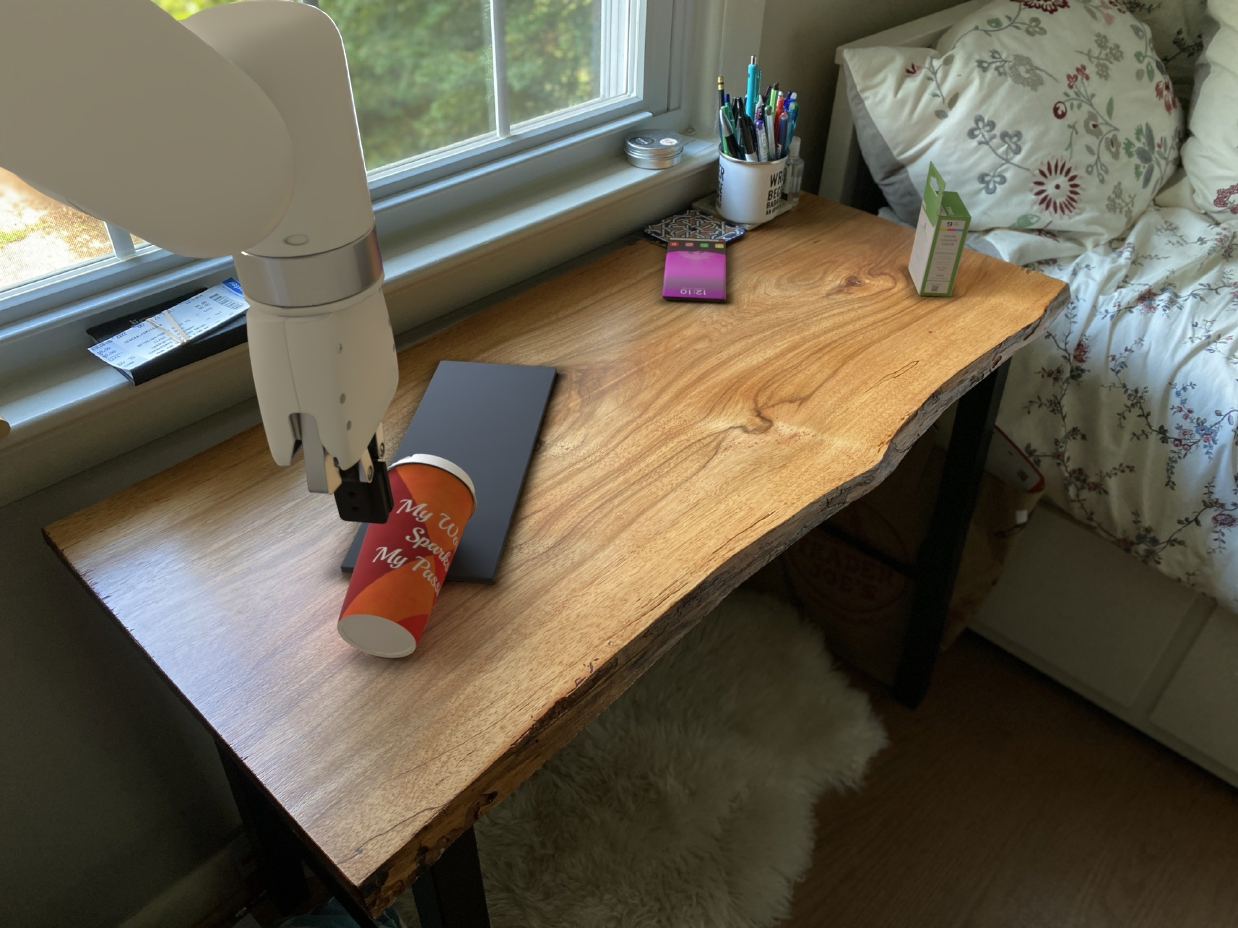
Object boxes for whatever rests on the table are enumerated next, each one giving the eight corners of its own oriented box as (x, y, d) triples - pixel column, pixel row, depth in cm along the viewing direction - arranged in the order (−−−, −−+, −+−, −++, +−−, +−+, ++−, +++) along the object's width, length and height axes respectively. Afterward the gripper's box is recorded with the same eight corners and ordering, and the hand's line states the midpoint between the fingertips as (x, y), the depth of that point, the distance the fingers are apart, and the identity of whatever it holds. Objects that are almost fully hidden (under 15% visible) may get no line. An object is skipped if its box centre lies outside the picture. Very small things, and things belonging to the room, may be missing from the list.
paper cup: (375, 594, 59) (435, 436, 69) (297, 619, 63) (363, 466, 72) (456, 654, 64) (501, 499, 73) (378, 674, 68) (431, 524, 77)
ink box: (953, 298, 106) (981, 184, 98) (917, 297, 107) (942, 183, 98) (940, 270, 112) (965, 160, 104) (906, 269, 112) (929, 159, 104)
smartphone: (725, 245, 117) (726, 238, 116) (725, 303, 105) (726, 296, 105) (668, 243, 118) (668, 236, 117) (661, 300, 106) (661, 293, 105)
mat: (493, 584, 71) (492, 578, 71) (341, 572, 72) (340, 566, 72) (556, 371, 95) (556, 366, 94) (441, 365, 96) (440, 360, 95)
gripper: (295, 200, 56) (351, 442, 68) (175, 325, 45) (267, 592, 56) (416, 205, 55) (452, 449, 67) (327, 334, 44) (388, 602, 55)
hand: (367, 514), depth 61 cm, fingers closed
